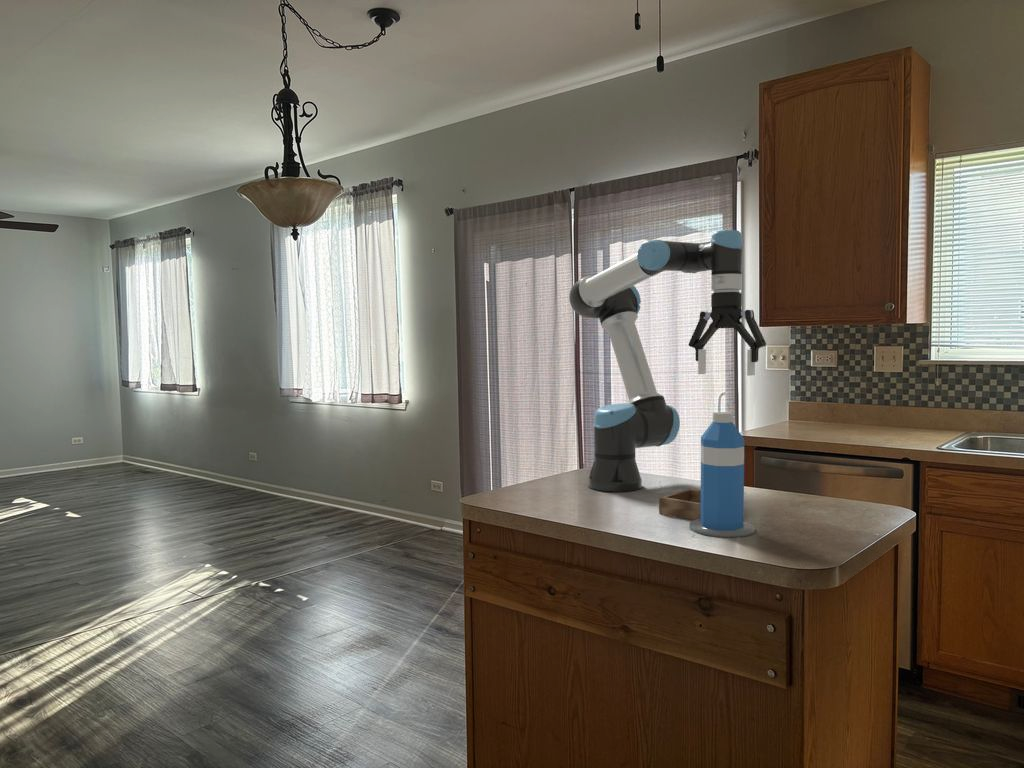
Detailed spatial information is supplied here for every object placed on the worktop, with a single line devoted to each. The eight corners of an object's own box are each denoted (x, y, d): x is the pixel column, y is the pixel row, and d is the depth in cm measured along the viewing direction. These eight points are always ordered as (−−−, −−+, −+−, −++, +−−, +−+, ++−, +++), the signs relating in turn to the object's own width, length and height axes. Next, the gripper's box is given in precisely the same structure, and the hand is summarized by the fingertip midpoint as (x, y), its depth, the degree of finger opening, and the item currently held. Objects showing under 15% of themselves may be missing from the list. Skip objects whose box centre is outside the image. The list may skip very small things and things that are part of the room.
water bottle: (695, 527, 160) (696, 414, 158) (705, 518, 168) (705, 410, 167) (739, 532, 156) (740, 415, 154) (747, 522, 164) (748, 411, 162)
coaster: (677, 529, 162) (677, 526, 162) (708, 518, 172) (708, 514, 172) (736, 541, 152) (736, 537, 152) (766, 528, 162) (766, 524, 162)
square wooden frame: (659, 513, 176) (659, 497, 176) (688, 504, 187) (688, 488, 186) (711, 523, 167) (711, 506, 167) (739, 512, 177) (739, 496, 177)
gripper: (675, 293, 193) (675, 374, 194) (767, 288, 176) (766, 376, 177) (690, 294, 198) (690, 372, 200) (780, 289, 181) (779, 375, 183)
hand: (725, 374), depth 188 cm, fingers open, 13 cm apart
